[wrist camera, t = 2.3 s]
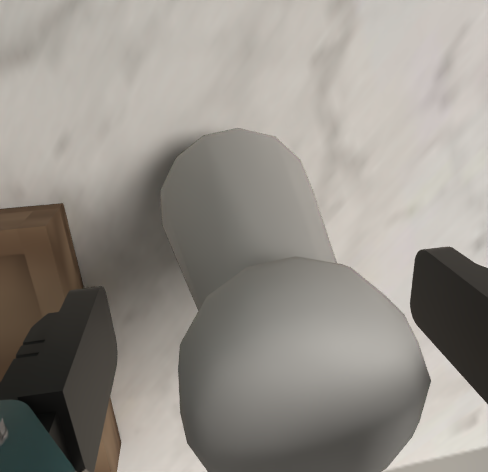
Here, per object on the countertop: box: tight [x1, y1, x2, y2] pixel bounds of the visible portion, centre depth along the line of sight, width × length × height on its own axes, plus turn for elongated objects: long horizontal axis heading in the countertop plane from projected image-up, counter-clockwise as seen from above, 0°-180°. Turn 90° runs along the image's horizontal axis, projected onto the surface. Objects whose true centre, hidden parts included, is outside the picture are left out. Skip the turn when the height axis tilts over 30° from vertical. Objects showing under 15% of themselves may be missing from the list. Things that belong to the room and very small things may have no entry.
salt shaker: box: [160, 128, 431, 472], centre depth 12 cm, size 6×6×13 cm
